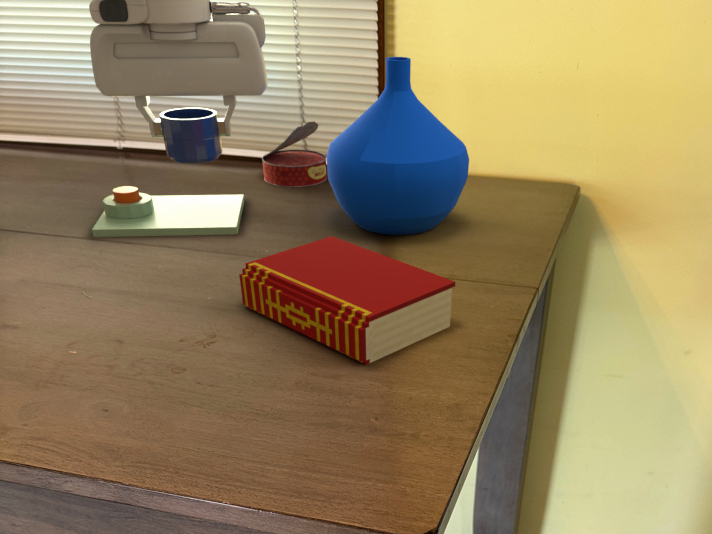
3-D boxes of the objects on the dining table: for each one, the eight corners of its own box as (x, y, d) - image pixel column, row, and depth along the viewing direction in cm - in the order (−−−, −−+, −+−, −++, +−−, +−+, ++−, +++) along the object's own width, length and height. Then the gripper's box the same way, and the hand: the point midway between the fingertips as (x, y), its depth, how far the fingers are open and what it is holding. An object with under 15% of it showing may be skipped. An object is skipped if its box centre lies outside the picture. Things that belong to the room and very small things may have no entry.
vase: (366, 257, 92) (362, 77, 80) (308, 215, 105) (297, 52, 92) (491, 235, 99) (505, 65, 87) (423, 197, 111) (427, 43, 99)
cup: (164, 165, 94) (155, 120, 91) (171, 150, 99) (164, 107, 96) (220, 164, 94) (214, 119, 91) (224, 150, 100) (219, 107, 96)
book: (244, 312, 80) (238, 265, 76) (333, 280, 87) (331, 236, 83) (362, 371, 70) (361, 320, 67) (452, 329, 77) (455, 281, 74)
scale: (94, 241, 96) (88, 216, 94) (115, 206, 106) (110, 184, 104) (238, 238, 97) (234, 213, 95) (244, 204, 108) (242, 182, 106)
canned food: (288, 219, 117) (253, 161, 109) (271, 193, 124) (238, 137, 116) (349, 178, 116) (319, 117, 109) (329, 154, 123) (299, 95, 115)
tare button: (113, 205, 98) (110, 193, 97) (117, 198, 101) (115, 186, 100) (138, 205, 98) (135, 192, 97) (142, 198, 101) (139, 185, 100)
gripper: (263, -1, 89) (275, 129, 98) (86, -2, 88) (114, 130, 97) (261, 5, 85) (273, 141, 94) (73, 4, 83) (104, 143, 92)
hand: (191, 135), depth 95 cm, fingers closed on cup, 7 cm apart
